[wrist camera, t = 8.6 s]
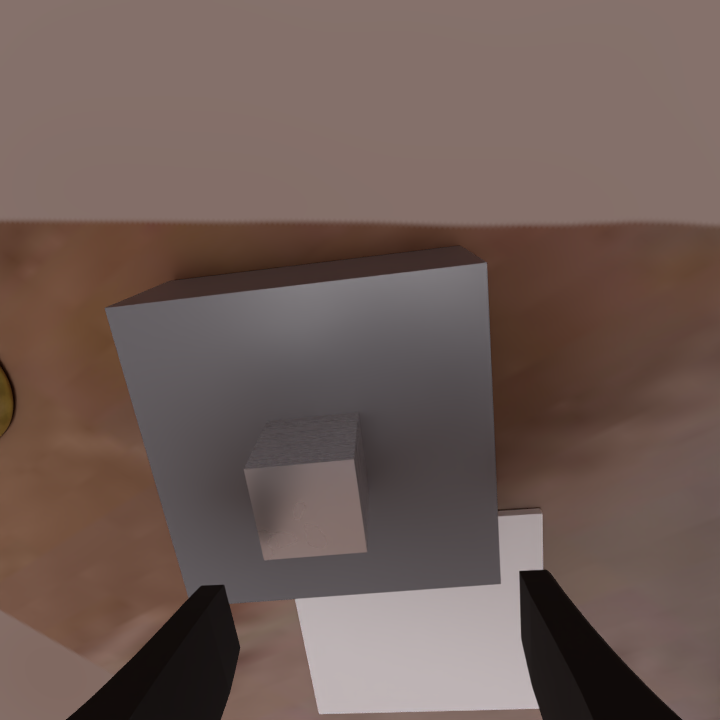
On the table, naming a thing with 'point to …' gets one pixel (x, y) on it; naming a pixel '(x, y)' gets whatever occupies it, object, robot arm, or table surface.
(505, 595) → the mat
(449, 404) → the cover
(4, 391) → the vase
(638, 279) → the table surface
